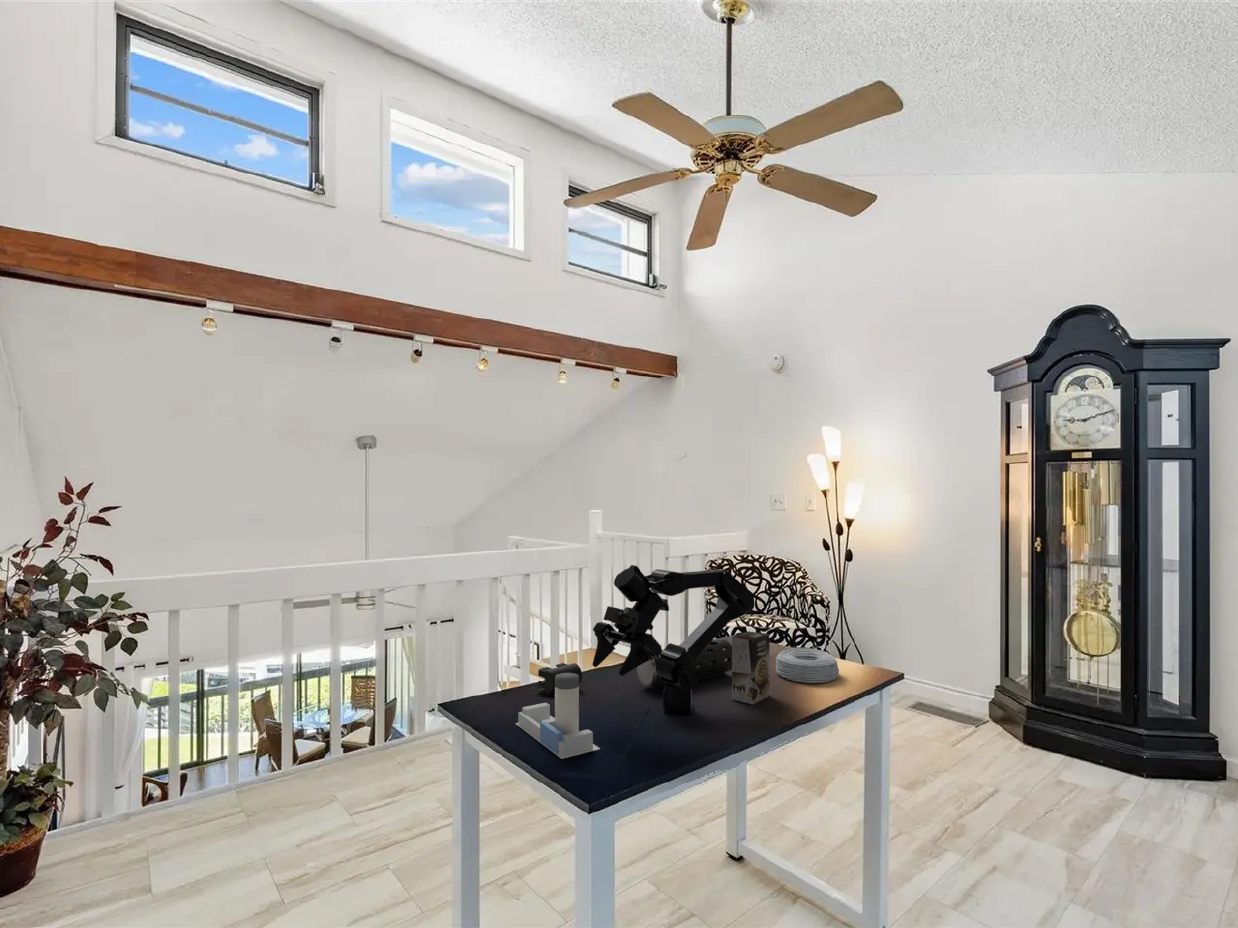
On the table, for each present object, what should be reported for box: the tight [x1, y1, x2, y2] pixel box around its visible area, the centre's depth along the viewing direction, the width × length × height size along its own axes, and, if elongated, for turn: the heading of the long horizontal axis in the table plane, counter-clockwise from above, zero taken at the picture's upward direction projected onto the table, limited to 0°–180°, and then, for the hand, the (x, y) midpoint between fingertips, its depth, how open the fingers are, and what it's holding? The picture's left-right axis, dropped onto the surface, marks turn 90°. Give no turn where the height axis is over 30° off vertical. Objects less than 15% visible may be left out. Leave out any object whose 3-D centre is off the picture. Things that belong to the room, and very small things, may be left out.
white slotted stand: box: [515, 702, 601, 760], centre depth 146 cm, size 9×23×5 cm, turn 32°
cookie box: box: [731, 630, 771, 705], centre depth 173 cm, size 9×6×16 cm
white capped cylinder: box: [554, 673, 580, 735], centre depth 142 cm, size 5×5×14 cm
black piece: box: [537, 662, 583, 697], centre depth 179 cm, size 10×7×7 cm
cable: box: [775, 647, 840, 684], centre depth 192 cm, size 18×18×6 cm
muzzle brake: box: [636, 639, 732, 688], centre depth 187 cm, size 10×28×10 cm, turn 121°
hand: (606, 670), depth 151 cm, fingers open, 9 cm apart
